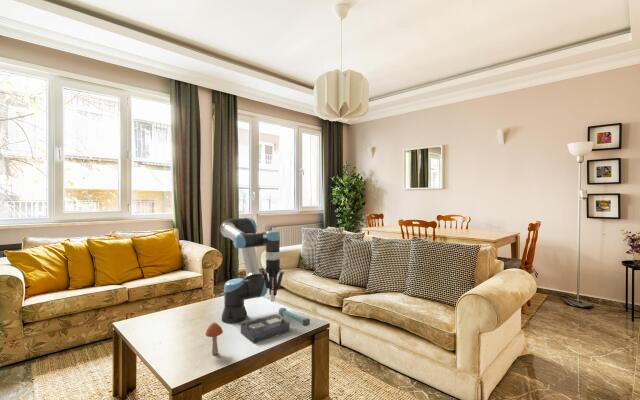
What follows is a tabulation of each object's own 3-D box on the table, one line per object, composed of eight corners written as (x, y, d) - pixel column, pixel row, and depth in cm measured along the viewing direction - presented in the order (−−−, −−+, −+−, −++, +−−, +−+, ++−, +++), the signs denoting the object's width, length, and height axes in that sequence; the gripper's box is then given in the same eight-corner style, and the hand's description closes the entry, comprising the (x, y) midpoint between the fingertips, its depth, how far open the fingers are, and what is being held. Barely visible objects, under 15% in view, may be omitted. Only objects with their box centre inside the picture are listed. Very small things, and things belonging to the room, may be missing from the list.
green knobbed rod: (277, 313, 186) (277, 309, 185) (283, 312, 188) (283, 307, 188) (304, 326, 168) (304, 321, 168) (310, 324, 171) (310, 319, 171)
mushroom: (208, 349, 159) (207, 319, 159) (224, 349, 160) (224, 318, 160) (203, 358, 151) (203, 326, 151) (221, 357, 152) (220, 325, 152)
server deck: (240, 333, 178) (240, 319, 178) (277, 322, 192) (277, 309, 192) (253, 343, 166) (253, 328, 166) (291, 331, 180) (291, 317, 180)
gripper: (259, 259, 179) (259, 302, 180) (281, 260, 175) (281, 304, 176) (265, 256, 186) (265, 297, 187) (286, 258, 183) (286, 299, 183)
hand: (273, 300), depth 181 cm, fingers closed
